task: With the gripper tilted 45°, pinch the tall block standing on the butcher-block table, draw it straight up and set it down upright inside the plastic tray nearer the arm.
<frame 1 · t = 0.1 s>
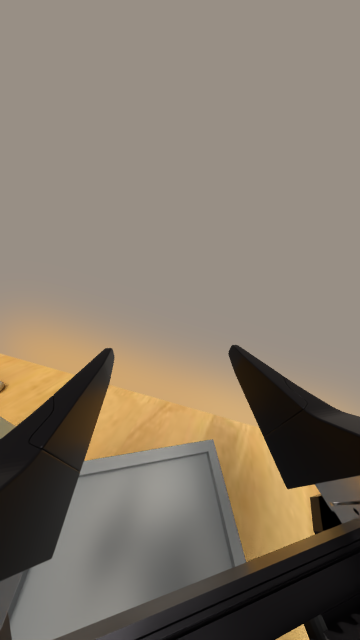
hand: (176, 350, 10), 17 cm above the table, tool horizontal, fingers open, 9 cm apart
block: (4, 467, 14), on the table
tray: (133, 604, 10), on the table
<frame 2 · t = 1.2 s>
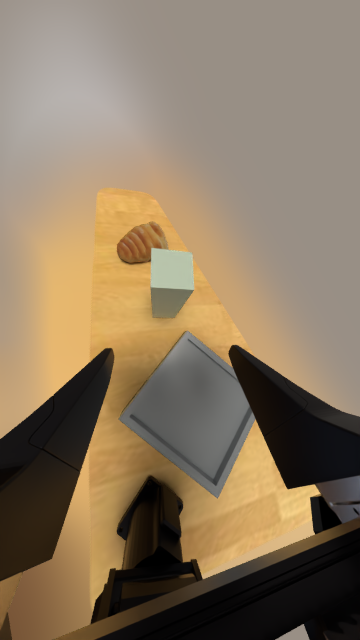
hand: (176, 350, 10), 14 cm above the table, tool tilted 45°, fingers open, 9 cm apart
block: (163, 307, 24), on the table
pastry: (145, 250, 26), on the table
tray: (197, 400, 22), on the table
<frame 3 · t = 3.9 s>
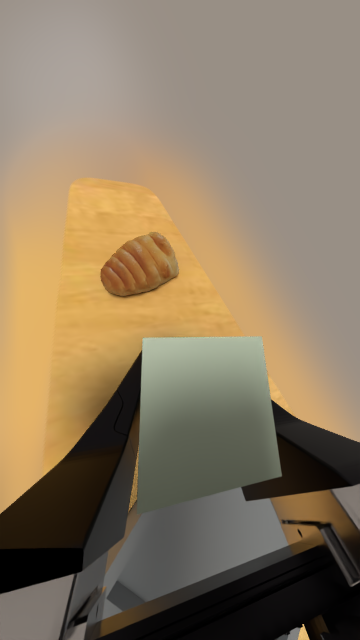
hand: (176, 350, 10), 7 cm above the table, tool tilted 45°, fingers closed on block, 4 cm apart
block: (168, 360, 16), on the table, touching gripper
pastry: (145, 273, 18), on the table
tray: (222, 519, 14), on the table
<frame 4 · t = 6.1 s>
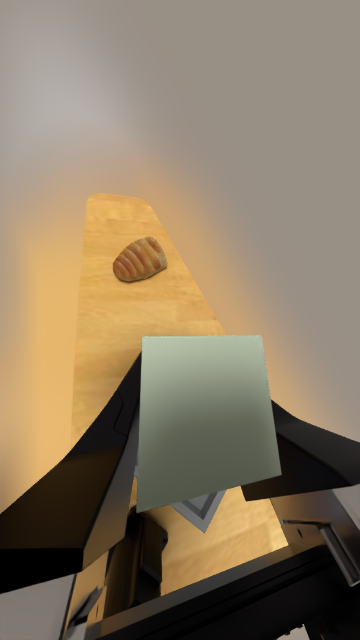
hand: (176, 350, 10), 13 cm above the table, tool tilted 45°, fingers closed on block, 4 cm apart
block: (167, 359, 16), point 7 cm above the table, touching gripper
pastry: (143, 265, 25), on the table
tray: (187, 424, 21), on the table
when the fingers open (9 cm above the table, at t = 8.3 s): block drops 1 cm, resting on tray.
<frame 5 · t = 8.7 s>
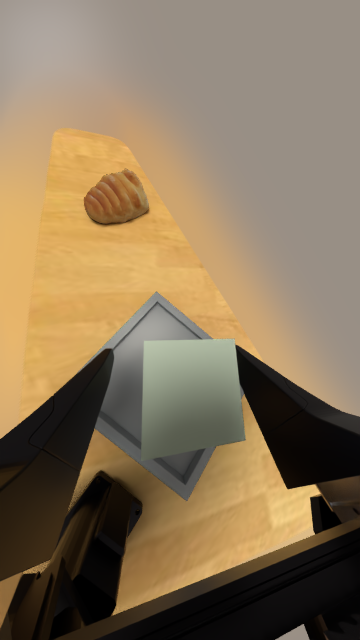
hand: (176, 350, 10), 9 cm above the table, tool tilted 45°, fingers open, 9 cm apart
block: (166, 358, 17), point 1 cm above the table, touching tray
pastry: (122, 210, 22), on the table
tray: (168, 379, 18), on the table
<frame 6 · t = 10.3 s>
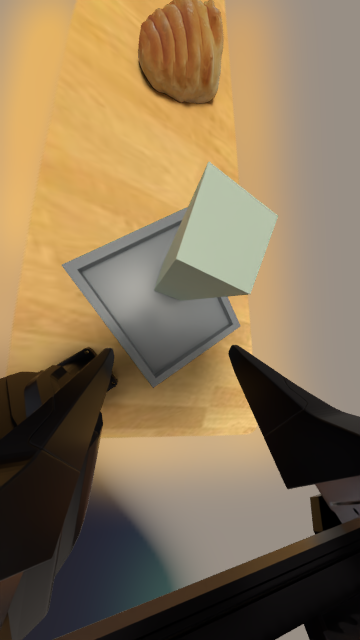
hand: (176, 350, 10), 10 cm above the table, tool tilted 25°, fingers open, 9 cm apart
block: (172, 281, 18), point 1 cm above the table, touching tray
pastry: (181, 81, 16), on the table
tray: (166, 302, 19), on the table
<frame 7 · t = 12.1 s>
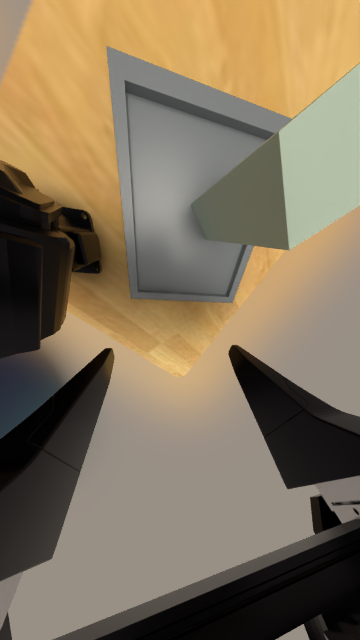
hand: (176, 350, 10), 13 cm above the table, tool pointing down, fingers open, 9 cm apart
block: (213, 211, 15), point 1 cm above the table, touching tray
tray: (192, 230, 16), on the table
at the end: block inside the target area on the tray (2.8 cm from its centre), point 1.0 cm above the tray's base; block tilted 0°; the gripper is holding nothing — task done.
